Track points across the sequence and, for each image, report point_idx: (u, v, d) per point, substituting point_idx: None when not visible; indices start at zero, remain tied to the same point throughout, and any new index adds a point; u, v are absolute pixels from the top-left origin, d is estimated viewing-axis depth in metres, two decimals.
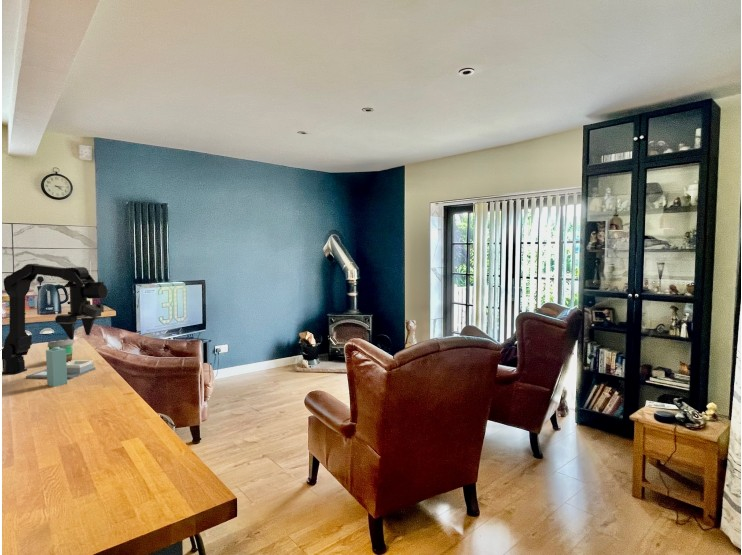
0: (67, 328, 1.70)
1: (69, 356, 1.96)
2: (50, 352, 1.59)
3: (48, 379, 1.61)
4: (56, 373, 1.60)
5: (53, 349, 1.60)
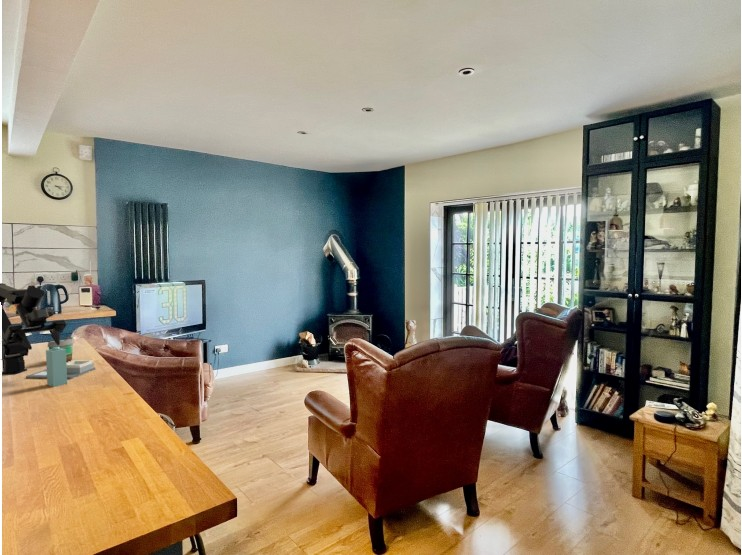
0: (21, 341, 1.62)
1: (69, 356, 1.96)
2: (50, 352, 1.59)
3: (48, 379, 1.61)
4: (56, 373, 1.60)
5: (53, 349, 1.60)
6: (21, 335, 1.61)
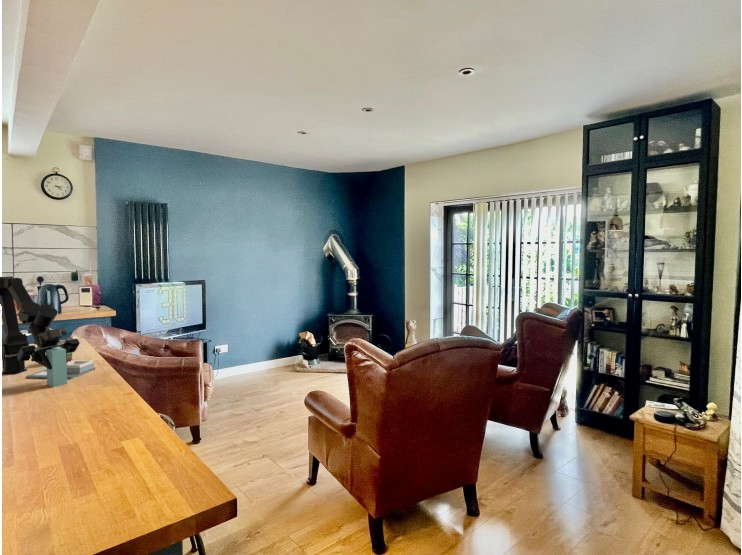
0: (41, 360, 1.60)
1: (69, 356, 1.96)
2: (50, 352, 1.59)
3: (48, 379, 1.61)
4: (56, 373, 1.60)
5: (53, 349, 1.60)
6: (41, 355, 1.59)
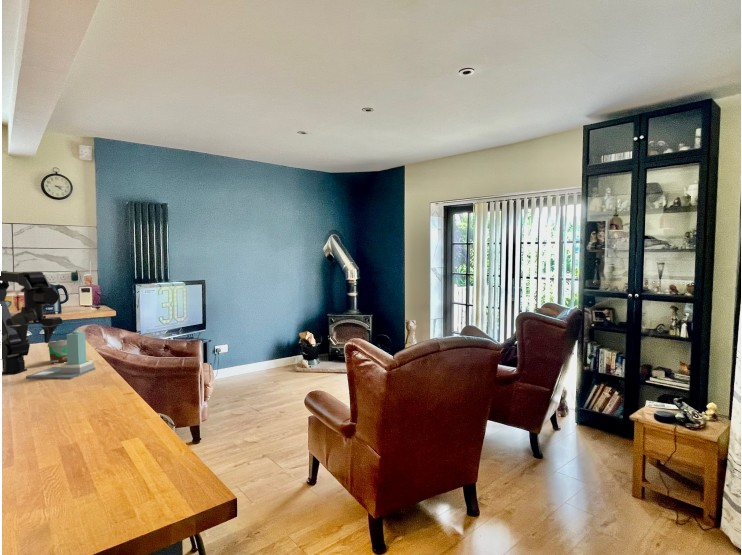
0: None
1: None
2: (74, 335, 1.75)
3: (69, 360, 1.76)
4: (80, 354, 1.77)
5: (75, 333, 1.76)
6: (15, 329, 1.71)
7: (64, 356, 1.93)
